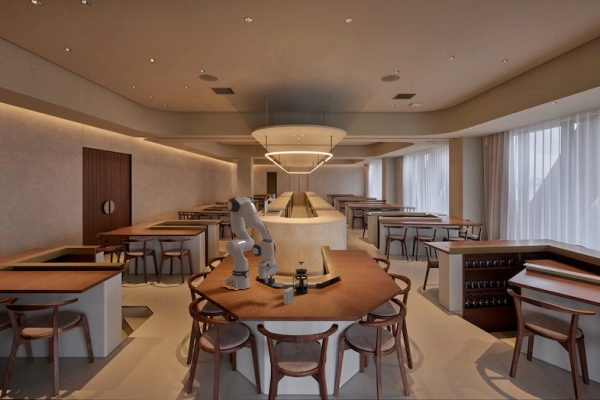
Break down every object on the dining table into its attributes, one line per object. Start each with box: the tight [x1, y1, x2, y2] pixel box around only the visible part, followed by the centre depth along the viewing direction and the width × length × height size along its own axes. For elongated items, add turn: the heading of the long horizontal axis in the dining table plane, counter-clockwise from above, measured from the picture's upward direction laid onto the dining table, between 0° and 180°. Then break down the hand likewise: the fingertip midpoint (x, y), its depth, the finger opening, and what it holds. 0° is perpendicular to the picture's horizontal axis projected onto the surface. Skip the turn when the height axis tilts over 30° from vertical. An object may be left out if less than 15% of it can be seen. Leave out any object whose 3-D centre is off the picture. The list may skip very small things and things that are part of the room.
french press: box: [292, 261, 309, 295], centre depth 232 cm, size 12×9×23 cm
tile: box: [283, 286, 294, 306], centre depth 212 cm, size 3×9×9 cm, turn 153°
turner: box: [262, 277, 286, 288], centre depth 218 cm, size 15×6×4 cm, turn 63°
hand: (268, 281), depth 219 cm, fingers closed on turner, 3 cm apart
